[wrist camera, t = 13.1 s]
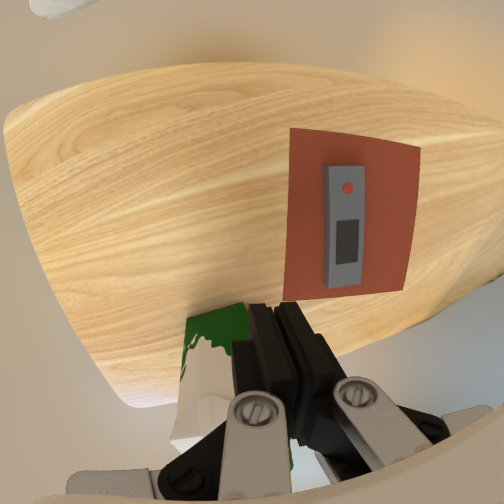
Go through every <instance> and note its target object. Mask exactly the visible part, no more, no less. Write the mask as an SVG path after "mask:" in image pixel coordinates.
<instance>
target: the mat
mask: <svg viewBox="0 0 504 504" xmlns="http://www.w3.org/2000/svg"><path fill="white" fill-rule="evenodd" d="M323 165H359V166H364V167H365V221H364V246H363V262H362V275H361V284H355V285H349V286H343V287H337V288H331V289H328V288H327V286H326V285H325V284H324V283H323V278H324V187H323ZM419 172H420V148H419V147H415V146H411V145H406V144H402V143H397V142H392V141H387V140H381V139H376V138H370V137H364V136H357V135H351V134H343V133H336V132H328V131H319V130H309V129H297V128H290V158H289V192H288V217H287V239H286V258H285V275H284V291H283V301H295V300H309V299H321V298H333V297H344V296H355V295H365V294H374V293H383V292H392V291H400V290H403V286H404V282H405V277H406V272H407V267H408V262H409V256H410V251H411V245H412V238H413V231H414V224H415V216H416V208H417V198H418V187H419Z"/></svg>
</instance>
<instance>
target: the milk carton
mask: <svg viewBox="0 0 504 504" xmlns="http://www.w3.org/2000/svg"><path fill="white" fill-rule="evenodd" d="M232 340H249V314H248V312H247V310H246V308H245V306H244V304H243V302H242V303H238V304H235V305H232V306H228V307H225V308H222V309H218V310H215V311H211V312H208V313H204V314H201V315H197V316H194V317H190V318H187V321H186V330H185V339H184V348H183V358H182V367H181V376H180V386H179V396H178V408H177V417H176V420H175V423H174V426H173V429H172V433H171V435H170V439H169V441H170V442H171V443H172V444H173V446H175V448H176V449H177V450H178V451H179V452H180V453H181V454H183V453H184V452H185V451H187V450H188V449H190V448H191V447H192V446H194V445H195V444H196V443H197V442H199V441H200V440H201V439H203V438H204V437H205V436H207V435H208V434H209V433H210V432H212V431H213V430H214V429H215V428H217V427H218V426H219V425H220V424H222V423H223V422H224V421H225V420H226V419H227V412H228V407H229V404H230V402H231V401H232V400H233V399H234V397H235V394H234V386H233V377H232V364H231V341H232ZM288 448H289V461H290V471H291V470H292V469H293V459H292V454H291V449H290V443H289V447H288Z"/></svg>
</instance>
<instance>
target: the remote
mask: <svg viewBox="0 0 504 504" xmlns="http://www.w3.org/2000/svg"><path fill="white" fill-rule="evenodd" d="M323 187H324V278H323V283H324V284H325V285H326V286H327V288H328V289H331V288H337V287H343V286H349V285H355V284H361V275H362V262H363V246H364V221H365V167H364V166H359V165H323Z"/></svg>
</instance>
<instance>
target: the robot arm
mask: <svg viewBox="0 0 504 504" xmlns="http://www.w3.org/2000/svg"><path fill="white" fill-rule="evenodd" d="M231 364H232V377H233V386H234V394H235V397H234V399H233V400H232V401H231V402H230V404H229V407H228V412H227V419H226V420H225V421H224V422H223V423H222V424H220V425H219V426H218V427H217V428H215V429H214V430H213V431H212V432H210V433H209V434H208V435H207V436H205V437H204V438H203V439H201V440H200V441H199V442H197V443H196V444H195V445H194V446H192V447H191V448H190V449H188V450H187V451H185V452H184V453H183V454H181V455H180V456H179V457H177V458H176V459H175V460H173V461H172V462H170V463H169V464H167V465H166V466H165V467H164V468H163V469H162V470H154V471H149V469H148V468H146V469H133V470H115V471H114V470H112V471H80V472H76V473H75V474H73V475H71V477H70V478H69V479H68V480H67V485H66V494H63V495H53V496H48V497H43V498H40V499H37V500H35V501H33V502H31V503H30V504H504V403H503V404H502V405H500V406H499V407H497V408H495V409H492V408H491V407H489V406H486V405H479V406H476V407H472V408H468V409H465V410H461V411H457V412H454V413H449V414H445V415H442V416H441V417H440V418H439V417H436V416H434V415H431V414H427V413H423V412H419V411H416V410H412V409H409V408H406V407H402V406H399V405H396V404H395V403H394V402H393V401H392V400H391V399H390V398H389V397H388V395H386V393H385V392H384V391H383V390H382V389H381V388H380V387H379V386H378V385H377V384H376V383H375V382H373V381H371V380H369V379H367V378H363V377H348V378H347V376H346V374H345V373H344V371H343V369H342V368H341V366H340V364H339V363H338V361H337V359H336V357H335V356H334V354H333V352H332V351H331V349H330V347H329V346H328V344H327V342H326V341H325V339H324V337H323V336H322V335H321V334H319V333H318V334H314V332H313V330H312V329H311V327H310V325H309V323H308V322H307V320H306V318H305V316H304V315H303V313H302V311H301V309H300V308H299V306H298V304H297V302H296V301H294V302H281V303H280V305H279V306H277V307H275V308H274V313H273V310H272V308H271V307H266V304H265V303H261V304H249V340H232V341H231ZM290 438H292V439H297V441H298V444H299V446H305V445H307V446H308V448H310V449H313V450H315V456H316V458H317V460H318V462H319V464H320V465H321V467H322V469H323V470H324V472H325V474H326V476H327V477H328V479H329V480H330V482H331V485H327V486H323V487H319V488H315V489H310V490H306V491H300V492H295V493H292V488H291V487H292V486H291V473H290V461H289V448H288V447H289V443H290Z"/></svg>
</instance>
